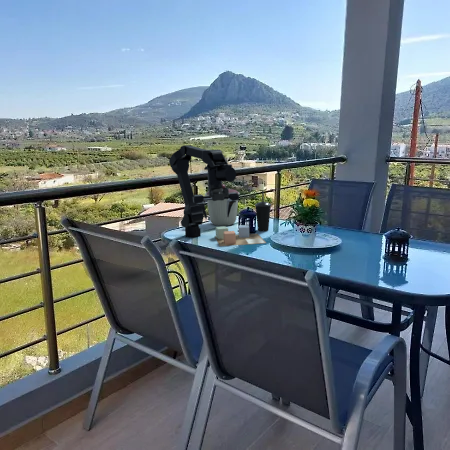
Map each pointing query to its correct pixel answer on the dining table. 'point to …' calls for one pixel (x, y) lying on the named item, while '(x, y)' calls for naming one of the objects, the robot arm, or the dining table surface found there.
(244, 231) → the slate block
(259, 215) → the drinking cup
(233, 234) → the terracotta block
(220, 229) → the sage block
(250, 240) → the board
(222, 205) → the canister
